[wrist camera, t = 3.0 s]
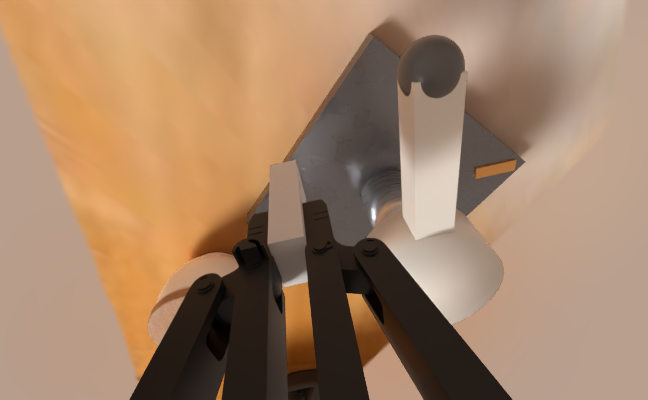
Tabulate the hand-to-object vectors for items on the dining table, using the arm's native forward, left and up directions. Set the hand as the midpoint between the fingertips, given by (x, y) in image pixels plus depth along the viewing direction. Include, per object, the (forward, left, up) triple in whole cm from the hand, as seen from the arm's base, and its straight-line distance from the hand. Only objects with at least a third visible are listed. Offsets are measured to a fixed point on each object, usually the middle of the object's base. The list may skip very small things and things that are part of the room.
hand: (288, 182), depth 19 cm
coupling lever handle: (+3, -8, -1) cm, 9 cm away
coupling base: (-1, -12, -11) cm, 16 cm away
